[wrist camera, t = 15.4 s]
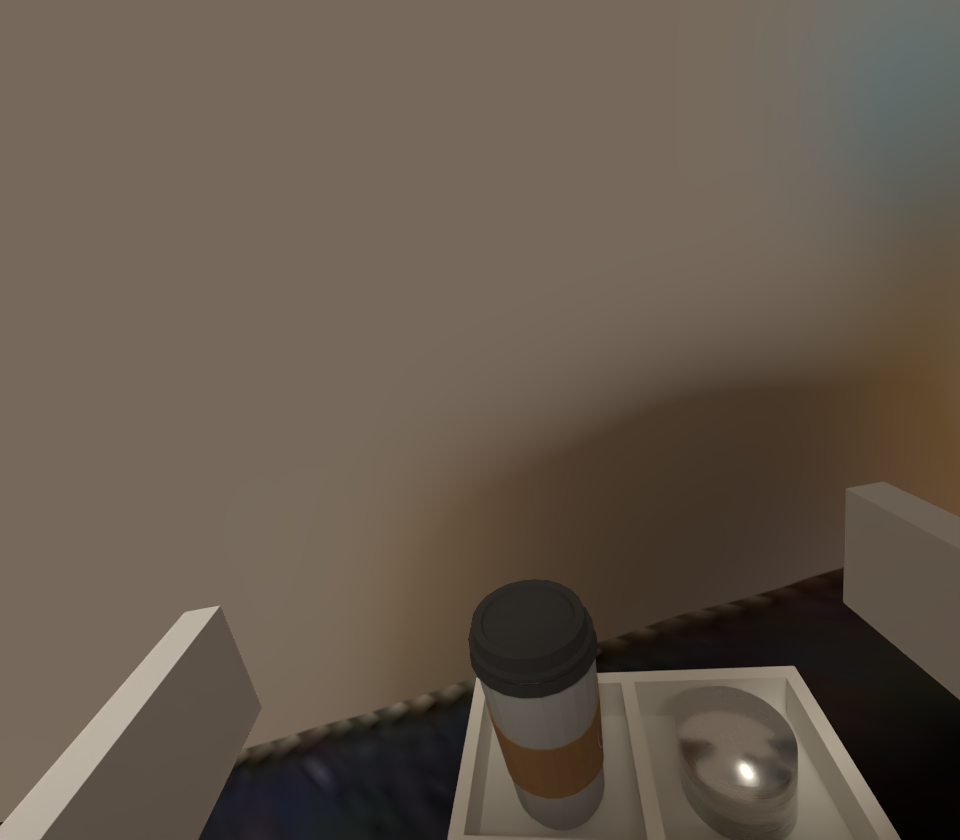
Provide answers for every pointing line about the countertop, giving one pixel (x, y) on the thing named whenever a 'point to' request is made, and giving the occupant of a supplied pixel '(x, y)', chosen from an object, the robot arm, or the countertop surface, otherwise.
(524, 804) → the coffee cup
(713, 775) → the metal tin
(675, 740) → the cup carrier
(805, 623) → the countertop surface
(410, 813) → the countertop surface
